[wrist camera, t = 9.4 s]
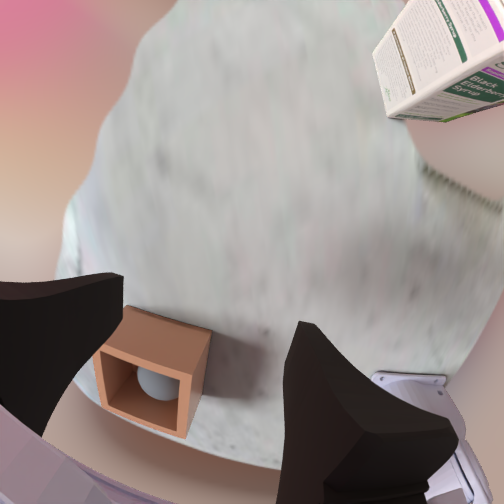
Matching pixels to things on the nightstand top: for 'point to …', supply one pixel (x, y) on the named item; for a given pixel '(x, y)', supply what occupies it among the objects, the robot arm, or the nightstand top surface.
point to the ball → (158, 384)
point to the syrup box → (442, 59)
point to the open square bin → (152, 369)
